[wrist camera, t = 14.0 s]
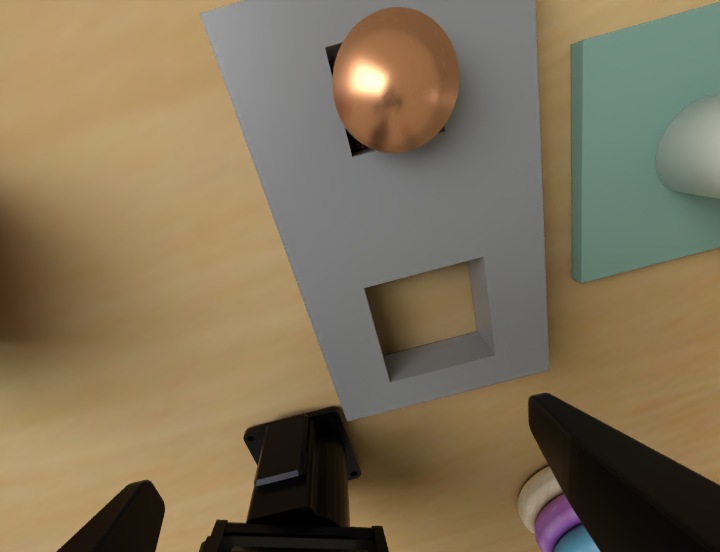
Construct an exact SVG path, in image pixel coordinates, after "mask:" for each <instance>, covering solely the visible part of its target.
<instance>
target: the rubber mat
mask: <svg viewBox="0 0 720 552" xmlns="http://www.w3.org/2000/svg"><path fill="white" fill-rule="evenodd" d="M713 95H720V2H718V3H714V4H711V5H707V6H703V7H700V8H696V9H693V10H689V11H686V12H682V13H678V14H675V15H671V16H668V17H664V18H661V19H657V20H653V21H650V22H646V23H643V24H639V25H636V26H632V27H628V28H625V29H621V30H618V31H614V32H610V33H607V34H603V35H600V36H596V37H593V38H589V39H585V40H582V41H579V42H577V43H574V44H572V45H571V136H572V278H573V279H575V280H576V281H578V282H580V283H585V282H589V281H592V280H596V279H600V278H604V277H608V276H612V275H615V274H619V273H623V272H627V271H631V270H635V269H638V268H642V267H646V266H650V265H654V264H658V263H661V262H665V261H669V260H673V259H677V258H681V257H684V256H688V255H692V254H696V253H700V252H704V251H707V250H711V249H715V248H719V247H720V199H718V198H712V197H706V196H700V195H694V194H688V193H682V192H676V191H673V190H670V189H668V188H667V187H665V186H664V185H663V184H662V182H661V181H660V179H659V177H658V175H657V171H656V165H655V162H656V152H657V149H658V145H659V142H660V140H661V138H662V136H663V134H664V132H665V130H666V129H667V127H668V126H669V124H670V123H671V122H672V120H673V119H674V118H675V117H676V116H677V115H678V114H679V113H680V112H681V111H682V110H683V109H685V108H686V107H687V106H689V105H690V104H692V103H694V102H695V101H697V100H699V99H702V98H705V97H708V96H713Z"/></svg>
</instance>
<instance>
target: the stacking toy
mask: <svg viewBox="0 0 720 552" xmlns="http://www.w3.org/2000/svg"><path fill="white" fill-rule="evenodd" d="M517 506H518V513H519V516H520V519H521V521H522V522H523V524H524V525H525V527H526V528H527V529H528V530H529V531H531V532H532V533H533V534H535V537H536V541H537V543H538V545H539V547H540V549H541V551H542V552H600V550H599V549H598V547H597V546H596V544H595V543H594V541H593V540H592V538H591V537H590V535H589V533H588V532H587V530H586V529H585V527H584V526H583V524H582V523H581V521H580V520H579V518H578V516H577V515H576V513H575V512H574V510H573V509H572V507H571V505H570V504H569V502H568V500H567V499H566V497H565V495H564V493H563V491H562V489H561V488H560V486H559V484H558V482H557V480H556V478H555V476H554V474H553V472H552V470H551V468H550V467H549V466H548V467H546V468H544V469H542V470H541V471H539V472H538V473H536V474H535V475H534V476H532V477H531V478H530V479H529V480H528V481H527V483H526V484H525V485H524V487H523V488H522V490H521V492H520V494H519V498H518V503H517Z"/></svg>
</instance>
